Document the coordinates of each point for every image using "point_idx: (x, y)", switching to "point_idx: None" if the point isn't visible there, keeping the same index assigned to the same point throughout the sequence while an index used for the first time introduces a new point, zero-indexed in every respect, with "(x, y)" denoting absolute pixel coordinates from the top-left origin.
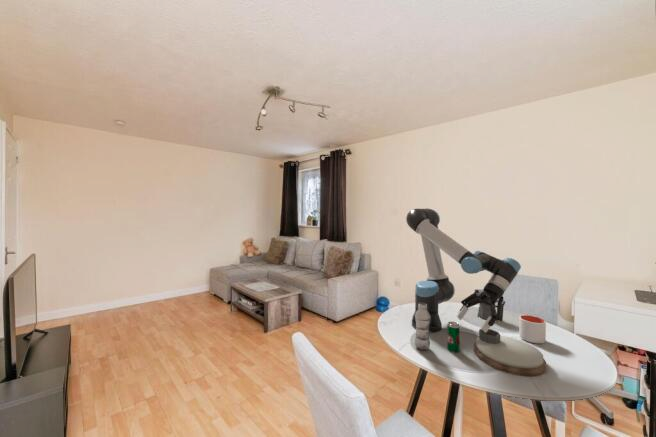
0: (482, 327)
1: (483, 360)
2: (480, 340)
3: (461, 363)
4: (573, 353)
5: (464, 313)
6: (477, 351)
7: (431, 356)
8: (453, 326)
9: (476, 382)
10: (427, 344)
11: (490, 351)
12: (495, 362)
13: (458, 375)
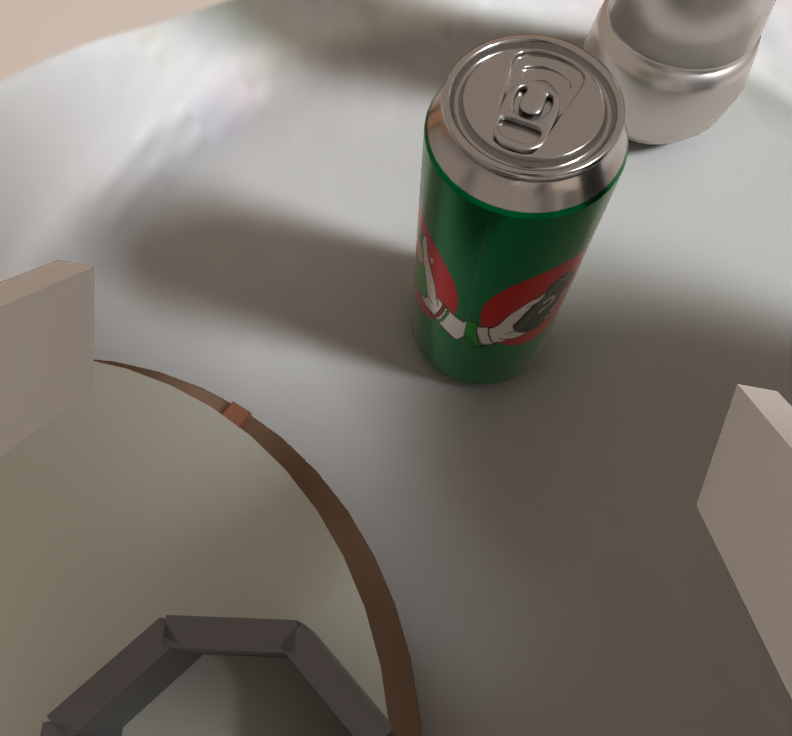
0: (61, 269)
1: None
2: (304, 609)
3: (271, 190)
4: None
5: (767, 592)
6: (236, 406)
7: None
8: (478, 61)
9: (51, 73)
10: (587, 41)
11: (60, 414)
12: None
13: (184, 40)
